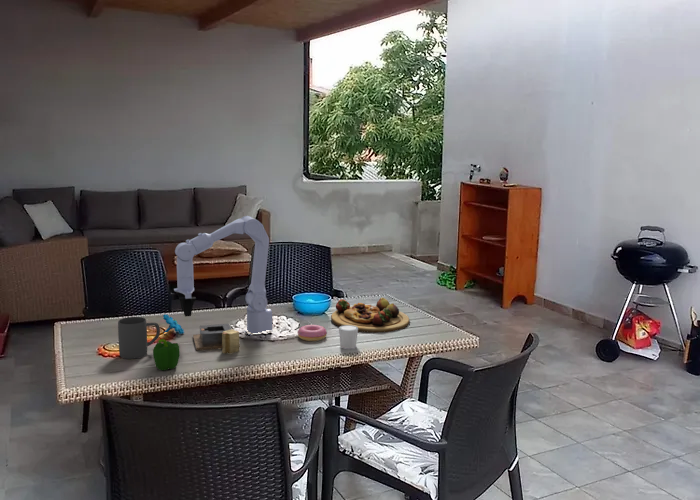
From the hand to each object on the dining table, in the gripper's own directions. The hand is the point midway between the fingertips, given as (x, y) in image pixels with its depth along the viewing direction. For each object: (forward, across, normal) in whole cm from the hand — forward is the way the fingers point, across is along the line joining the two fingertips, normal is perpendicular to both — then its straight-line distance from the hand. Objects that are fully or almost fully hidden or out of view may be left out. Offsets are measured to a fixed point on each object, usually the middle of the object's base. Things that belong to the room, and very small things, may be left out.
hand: (186, 313), depth 234 cm
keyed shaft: (+10, +17, +13) cm, 24 cm away
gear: (+10, -9, -4) cm, 14 cm away
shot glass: (+10, +25, +53) cm, 60 cm away
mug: (+10, +10, -17) cm, 22 cm away
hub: (+10, +6, +9) cm, 15 cm away
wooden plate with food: (+11, -2, +73) cm, 74 cm away
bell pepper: (+10, +27, -10) cm, 31 cm away
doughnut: (+10, +11, +44) cm, 47 cm away
